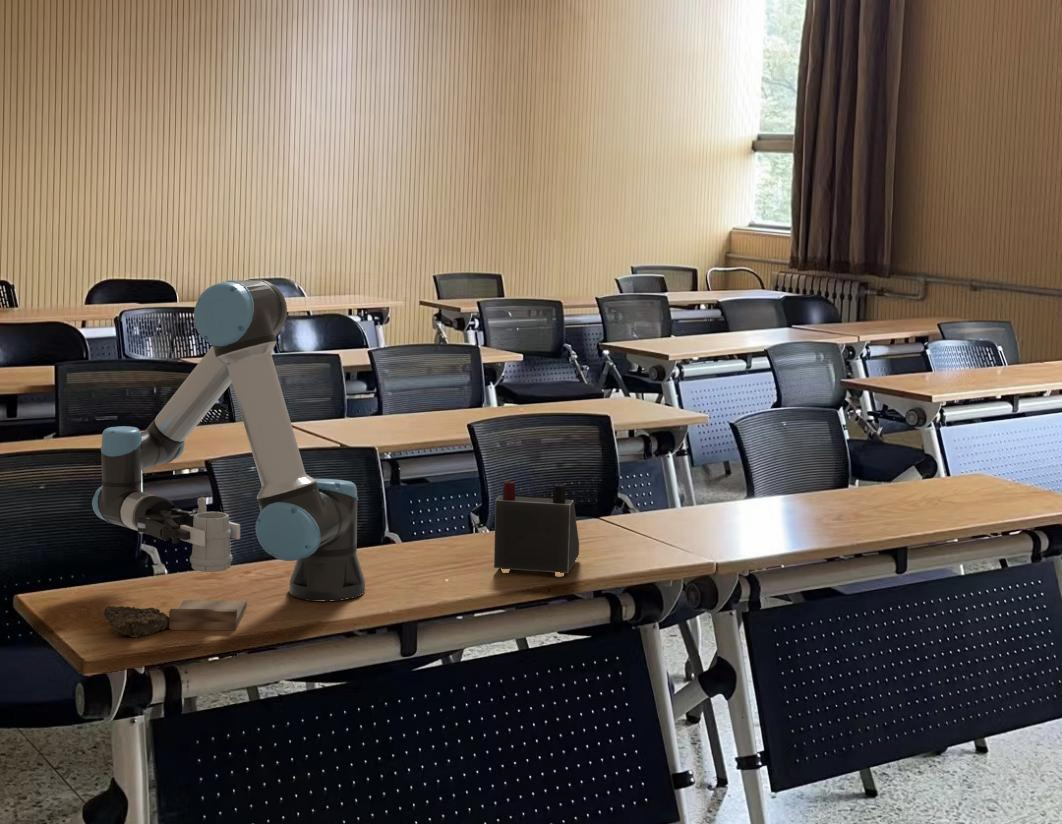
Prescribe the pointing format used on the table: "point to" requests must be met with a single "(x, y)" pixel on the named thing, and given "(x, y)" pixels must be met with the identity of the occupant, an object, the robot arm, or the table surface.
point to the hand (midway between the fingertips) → (220, 535)
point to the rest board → (207, 615)
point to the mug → (211, 541)
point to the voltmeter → (535, 531)
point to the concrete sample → (135, 620)
